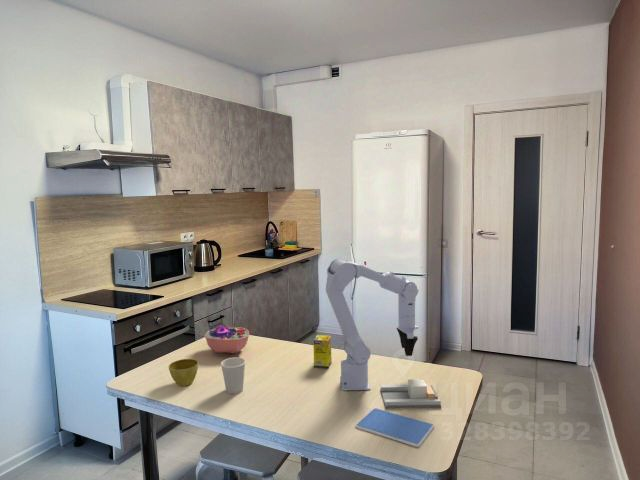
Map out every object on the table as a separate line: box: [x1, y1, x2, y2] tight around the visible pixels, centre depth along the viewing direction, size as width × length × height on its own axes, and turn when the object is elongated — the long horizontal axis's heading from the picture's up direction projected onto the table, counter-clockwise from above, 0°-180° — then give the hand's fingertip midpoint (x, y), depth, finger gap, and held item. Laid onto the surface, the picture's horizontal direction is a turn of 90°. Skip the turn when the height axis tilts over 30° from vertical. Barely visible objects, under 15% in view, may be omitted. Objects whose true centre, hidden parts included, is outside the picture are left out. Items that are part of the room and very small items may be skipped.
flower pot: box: [168, 358, 199, 387], centre depth 158 cm, size 10×10×7 cm
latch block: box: [425, 382, 435, 399], centre depth 143 cm, size 2×8×2 cm, turn 179°
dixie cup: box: [220, 357, 247, 395], centre depth 151 cm, size 8×8×10 cm
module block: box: [407, 379, 427, 399], centre depth 143 cm, size 5×5×4 cm
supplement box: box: [312, 334, 333, 369], centre depth 171 cm, size 6×6×11 cm
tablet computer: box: [354, 408, 435, 448], centre depth 126 cm, size 19×13×1 cm, turn 56°
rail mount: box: [380, 383, 442, 409], centre depth 143 cm, size 17×13×2 cm
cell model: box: [203, 324, 250, 354], centre depth 187 cm, size 17×20×11 cm
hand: (406, 351), depth 158 cm, fingers open, 7 cm apart
